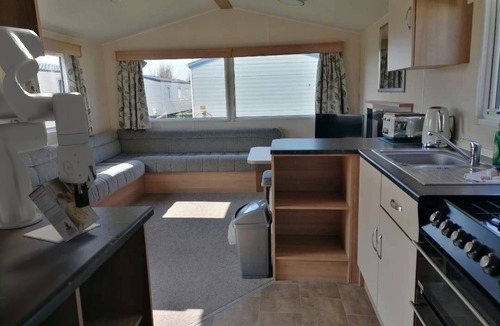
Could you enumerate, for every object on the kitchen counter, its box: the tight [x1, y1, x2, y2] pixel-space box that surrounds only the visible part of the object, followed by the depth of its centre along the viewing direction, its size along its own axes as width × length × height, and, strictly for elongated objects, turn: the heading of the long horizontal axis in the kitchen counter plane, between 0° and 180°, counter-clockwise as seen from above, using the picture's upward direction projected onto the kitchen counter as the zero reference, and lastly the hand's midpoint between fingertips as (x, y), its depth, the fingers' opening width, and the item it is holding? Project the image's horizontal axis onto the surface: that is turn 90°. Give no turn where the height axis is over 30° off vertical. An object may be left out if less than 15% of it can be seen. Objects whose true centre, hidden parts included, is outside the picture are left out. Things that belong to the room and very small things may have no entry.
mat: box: [23, 222, 102, 244], centre depth 108 cm, size 16×14×1 cm
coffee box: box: [28, 176, 101, 243], centre depth 101 cm, size 9×6×16 cm
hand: (82, 206), depth 100 cm, fingers closed
